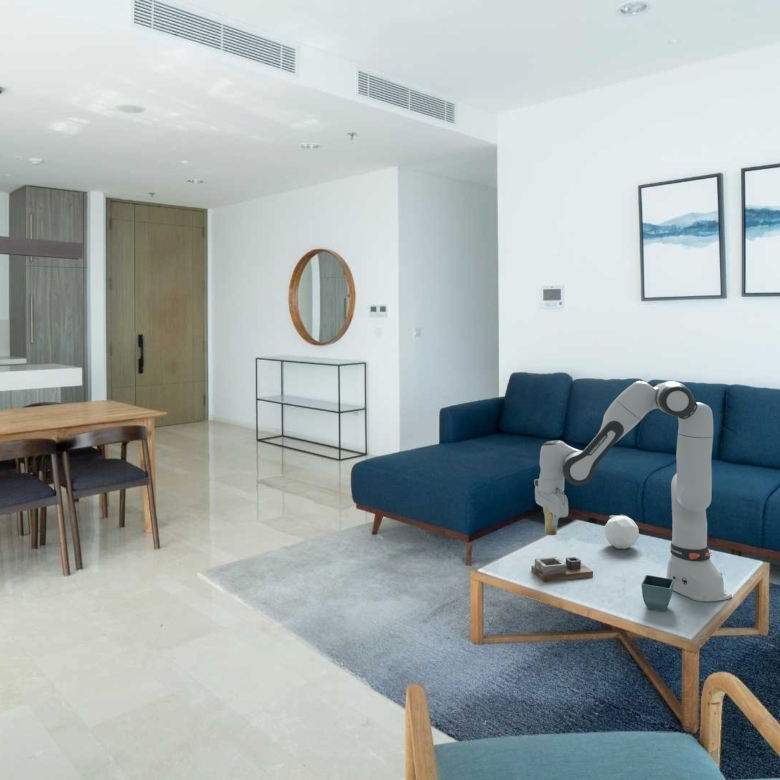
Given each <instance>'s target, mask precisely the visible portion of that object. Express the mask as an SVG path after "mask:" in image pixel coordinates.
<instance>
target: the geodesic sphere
mask: <svg viewBox="0 0 780 780" xmlns="http://www.w3.org/2000/svg"><path fill="white" fill-rule="evenodd" d="M603 528H604V529H603V530H604V537H605V538H606V540H607V542H608V544H610V545H611V546H613V547H615V548H616V549H618V550H619V549H620V550H622V549H628V548H631V547H633V546H635V545H636V543H637V541H638V540H639V538H640V533H639V532H640V531H639V527H638V525H637V524H636V522H635V521H634V520H633V519H632V518H630V517H629V516H627V515H624V514H622V513H621V514H620V515H613V514H612V515H609V519H608V521H607V523H605V525H604V527H603Z"/></svg>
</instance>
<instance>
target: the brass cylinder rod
mask: <svg viewBox="0 0 780 780" xmlns="http://www.w3.org/2000/svg"><path fill="white" fill-rule="evenodd" d="M552 519H553V513H551V512H550V511H548V507H546V506H545V515H544V534H545V535H547V536H556V535H557V533H558V525H553V524H552V523H551V520H552Z"/></svg>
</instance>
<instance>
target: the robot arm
mask: <svg viewBox="0 0 780 780" xmlns="http://www.w3.org/2000/svg"><path fill="white" fill-rule="evenodd" d="M655 409H656V410H657V409H659V410H660V411H661V412H663V413H666V414H668V415H669V416H671V417H676V418H677V419H678V420H677V421H678V428H677V429H678V430H677V439H676V454H675V458H676V473H675V474H674V475H673V477H672V479H671V485H670V487H671V489H670V491H671V511H672V512H671V515H672V533H671V534H672V535H671V537H672V539H671V542H670V546H669V547H670V548H669V549H670V553H671V555H670V559H669V560H668V563H667V570H666V577H665V578H669V579H674V585H673V591H674V592H676V593H679V594H681V595H682V596H685V597H687V598H690V599H691V600H693V601H696V602H719V601H725V600H728V599H730V598H732V593H731V592H730V591H729V590H728V589H726V588H725V585H724V577H723V573H722V572H721V571H719V570H718V569H717V567H716V566H715V564H714V563H713V561H712V560H711V556H713V553H712V552H710V549H709V546H708V545H707V544H708V541H707V540H708V519H707V508H709V507H710V505H711V504H712V491H713V489H712V488H713V487H712V483H713V482H712V481H713V475H712V456H713V455H712V453H713V441H714V417H713V411H712V410H713V409H711V407H710V406H709V405H708V404H705V403H702V402H699V401H698V402H697V401H696V399H695V397H694V395H693V393H692V392H691V390H690V389H689V388H688V387H686V386H685V385H684V384H683V383H682V382H681V383H680V382H679V381H674V380H665V381H661V382H659V383H656V384H655V383H654V384H652V385H651V384H649V383H648V382H645V381H642V380H638V381H635V382H633V383H631V385H629V386H628V387H626V388H625V389H624V390H623V391H622V392H621V393H620V394H619V395H618V396H617V397H616V398H615V399H614V400H613V401H612V402H611V404H610V405H609V406H608V408H607V410H606V411H605V413H604V415H603V417H602V418H603V419H602V423H601V426H600V429H599V431H598V433H597V434H596V435H595V437H594V438H593V439H592V440H591V441H590V443H588V445H587V446H586V447H585V448H584V449H582V450H580V449H577V448H575V447H572V446H570V445H568V444H567V443H565V442H564V441H562V440H557V439H556V440H549V441H546V442H545V443H543V444H542V445H541V448H540V453H539V467H540V472H539V475H538V476H539V478H536V479H534V480H533V483H534V487H535V488H534V500H535V503H536V504H537V505H539V506H541V507H542V509H543V510H542V511H543V514H544V516H545V506H546V507H548V511H550V512H551V513H553V519H552V520H551V523H552V524H553V525H557V526H558V523H559V519H560V518H567V517H568V516H569V501H568V497H567V495H566V494H565V481H567V482H568V483H569V484H572V485H573V486H583V485H586V484H587V483H589V482H590V481H591V480H592V478H593V476H594V473H595V470H596V468H597V465H598V464H599V463H600V461H601V460H602V459H603V458H604V457H605V455H607V454H608V453H609V451H610V450H611V449H612V447H614V445H615V444H616V443H617V442H618V441H620V440H621V439H622V438H623V437H624V436H625V435H626V434H627V433H629V432H630V431H632V429H634V428H635V426H637V425H638V424H639V423H640V422H641V421H642V420H643V418H644V417H645V416H646V415H647V414H648V413H649V412H651V411H652V410H655Z"/></svg>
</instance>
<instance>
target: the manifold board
mask: <svg viewBox="0 0 780 780" xmlns="http://www.w3.org/2000/svg"><path fill="white" fill-rule="evenodd" d="M581 561H582V560H581V559H580V558H578V557H575V556H572V557H565V561H563V560H560V558H558V557H557V556H553V557H550V556H549V557H541V558H534V565H531V567H530V568H531V569H530V571H531V573H533V574H534V575H535V576H537V577H538V578H539V579H540V580H542V582H544V583H547V582H557V581H565V580H576V579H584V578H585V579H586V578H592V577H594V571H593V570H592V569H591V568H589V567H587V566H586V565H585V564H584V563H582V562H581Z"/></svg>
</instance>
